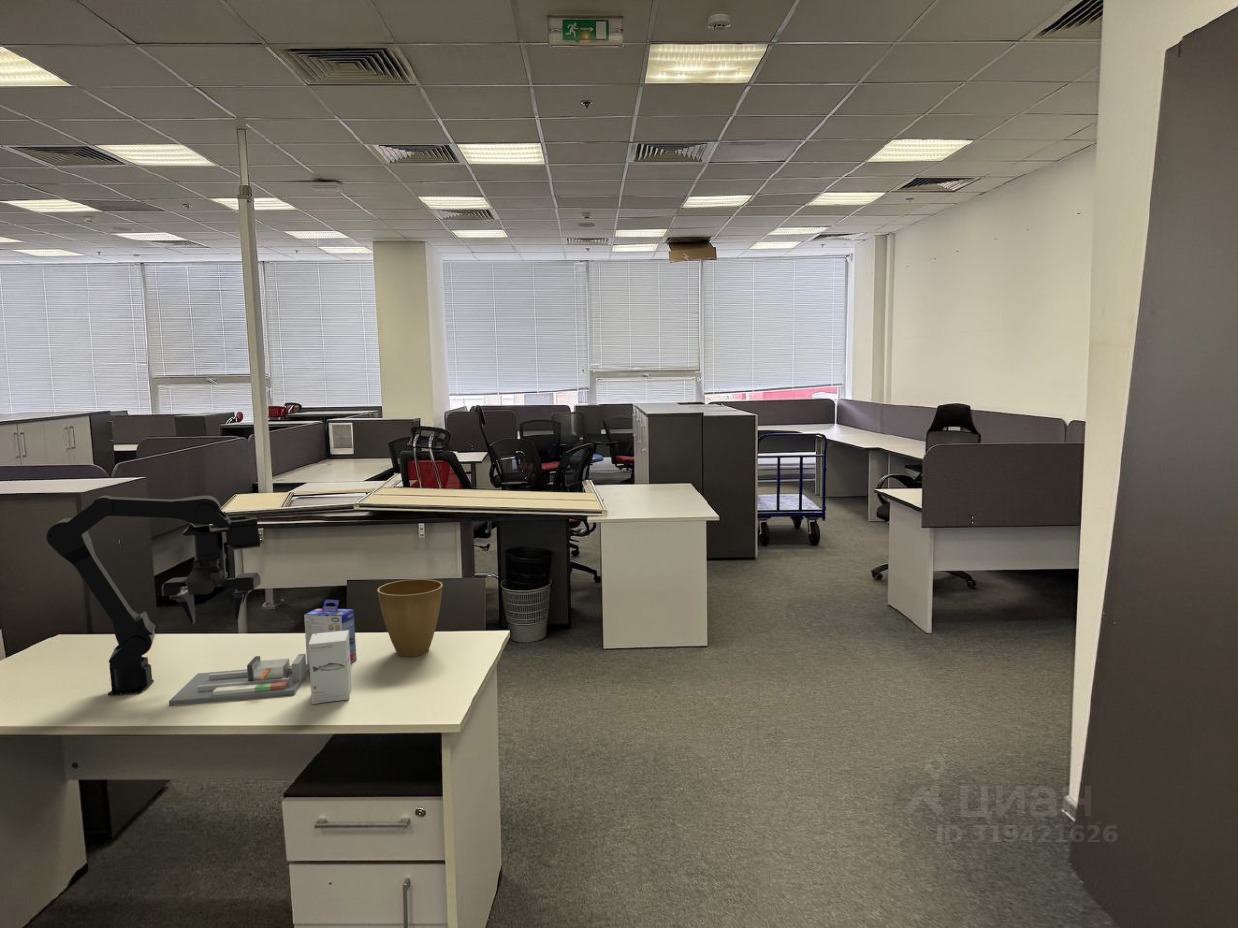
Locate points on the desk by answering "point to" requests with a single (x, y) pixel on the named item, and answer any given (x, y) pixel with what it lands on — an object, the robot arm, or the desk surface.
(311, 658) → the supplement box
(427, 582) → the plant pot
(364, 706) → the desk surface
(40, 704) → the desk surface
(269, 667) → the grey block
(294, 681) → the board
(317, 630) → the ink cartridge box
